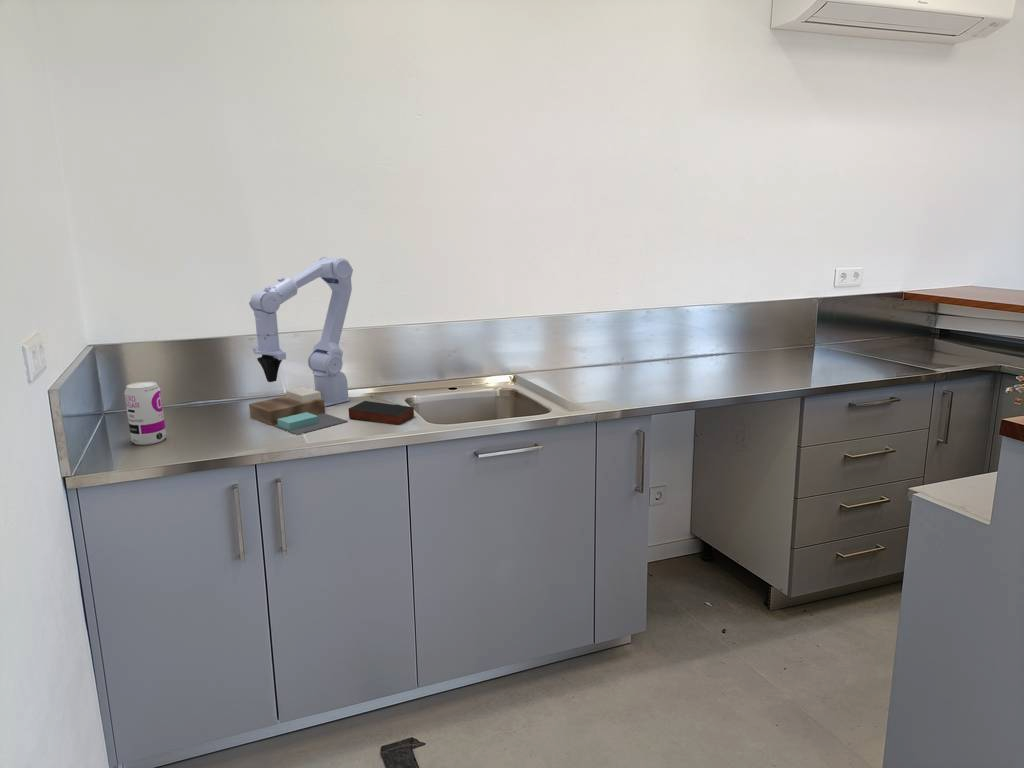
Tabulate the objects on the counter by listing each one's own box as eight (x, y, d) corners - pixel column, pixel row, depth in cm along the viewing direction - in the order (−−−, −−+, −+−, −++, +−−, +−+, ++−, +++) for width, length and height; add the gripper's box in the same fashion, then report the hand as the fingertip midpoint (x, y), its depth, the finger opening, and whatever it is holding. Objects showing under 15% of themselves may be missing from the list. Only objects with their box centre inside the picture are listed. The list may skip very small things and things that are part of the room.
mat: (323, 413, 212) (323, 413, 212) (347, 421, 204) (347, 420, 204) (273, 426, 200) (273, 425, 200) (296, 435, 192) (296, 434, 192)
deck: (302, 405, 221) (301, 392, 220) (324, 412, 213) (323, 399, 212) (250, 417, 209) (248, 403, 208) (271, 425, 201) (270, 411, 200)
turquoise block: (318, 416, 201) (318, 423, 202) (306, 412, 205) (306, 418, 206) (288, 423, 195) (289, 430, 195) (277, 419, 199) (277, 426, 199)
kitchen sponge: (399, 426, 201) (425, 411, 214) (398, 415, 200) (425, 401, 213) (342, 418, 207) (371, 403, 221) (341, 408, 206) (370, 394, 220)
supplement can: (171, 435, 193) (164, 380, 190) (158, 445, 185) (150, 388, 182) (140, 436, 193) (133, 381, 189) (125, 446, 185) (117, 389, 181)
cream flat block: (286, 397, 215) (285, 390, 214) (304, 393, 219) (303, 386, 219) (302, 402, 209) (302, 395, 208) (321, 398, 213) (320, 391, 213)
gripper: (241, 333, 206) (246, 379, 209) (267, 339, 196) (272, 388, 200) (264, 329, 211) (268, 375, 214) (291, 335, 201) (295, 383, 205)
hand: (272, 381), depth 207 cm, fingers closed
